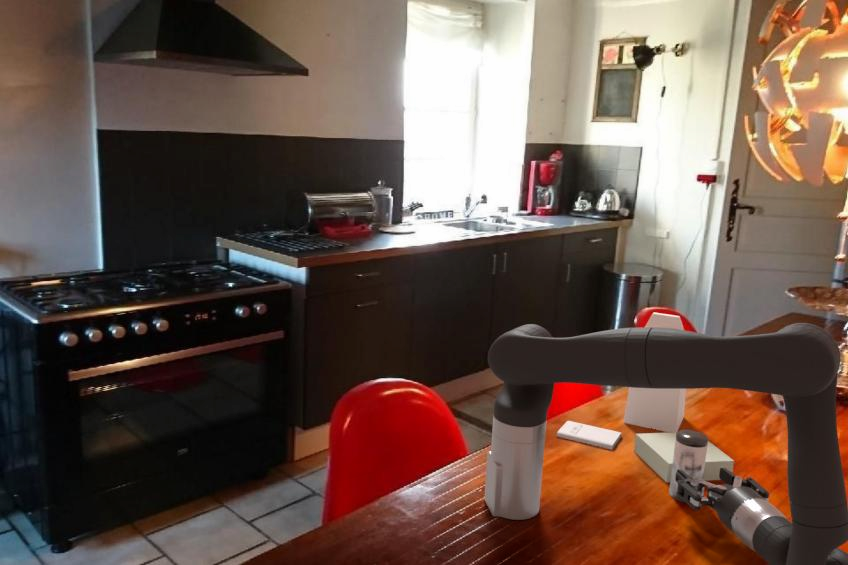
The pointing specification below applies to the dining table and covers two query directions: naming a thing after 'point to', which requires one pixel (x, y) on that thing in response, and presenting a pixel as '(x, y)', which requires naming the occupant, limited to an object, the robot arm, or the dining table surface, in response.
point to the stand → (661, 451)
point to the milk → (657, 394)
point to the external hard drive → (589, 434)
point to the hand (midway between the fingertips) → (699, 473)
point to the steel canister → (688, 457)
